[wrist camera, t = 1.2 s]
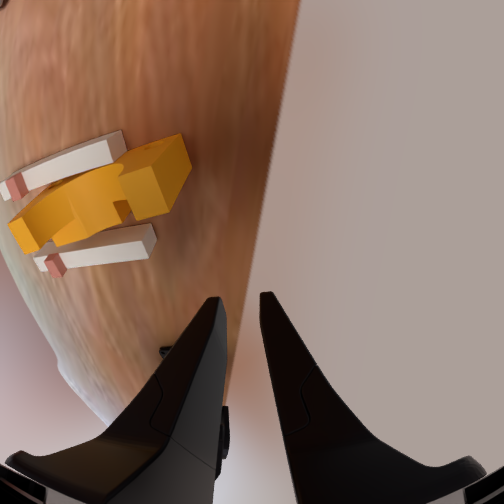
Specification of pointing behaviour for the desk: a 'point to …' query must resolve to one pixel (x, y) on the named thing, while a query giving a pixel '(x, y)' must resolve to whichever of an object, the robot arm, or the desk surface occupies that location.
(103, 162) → the guide channel
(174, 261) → the desk surface
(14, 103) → the desk surface
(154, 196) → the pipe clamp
